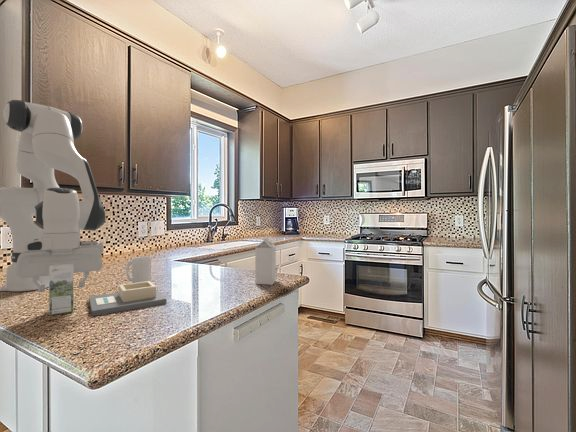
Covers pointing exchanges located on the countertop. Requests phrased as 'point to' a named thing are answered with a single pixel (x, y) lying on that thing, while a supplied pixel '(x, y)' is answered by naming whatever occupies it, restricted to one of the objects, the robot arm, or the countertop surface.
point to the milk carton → (265, 262)
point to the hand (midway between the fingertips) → (62, 289)
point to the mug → (139, 269)
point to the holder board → (127, 298)
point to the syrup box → (61, 289)
